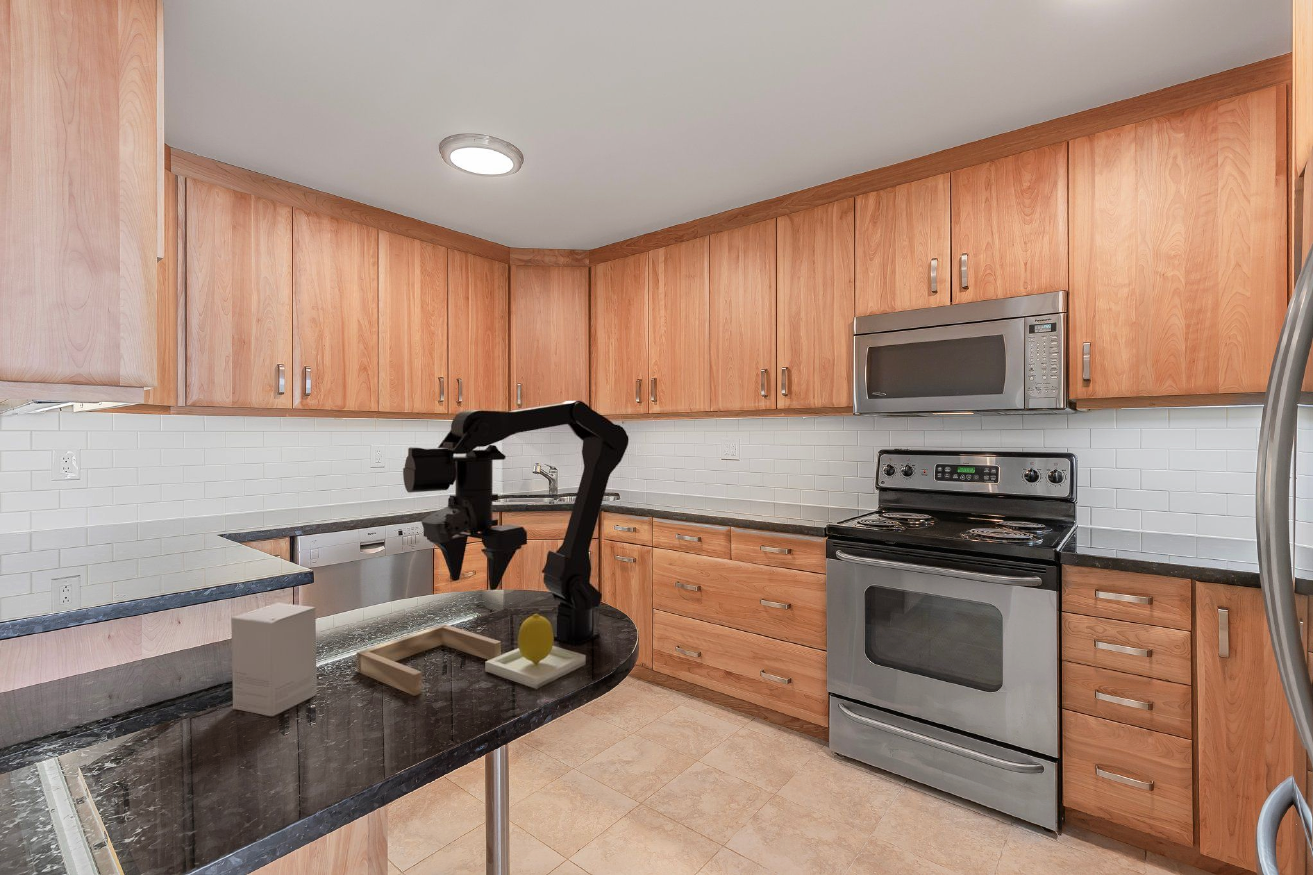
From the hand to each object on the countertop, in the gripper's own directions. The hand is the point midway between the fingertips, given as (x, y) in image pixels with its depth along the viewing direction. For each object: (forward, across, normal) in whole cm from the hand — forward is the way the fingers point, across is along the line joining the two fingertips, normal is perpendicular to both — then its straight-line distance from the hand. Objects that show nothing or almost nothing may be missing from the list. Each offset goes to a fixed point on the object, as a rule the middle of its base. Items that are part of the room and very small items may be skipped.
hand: (474, 584), depth 100 cm
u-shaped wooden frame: (+12, -4, -5) cm, 14 cm away
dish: (+12, +10, +4) cm, 16 cm away
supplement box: (+13, -11, -25) cm, 30 cm away
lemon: (+12, +10, +4) cm, 16 cm away
